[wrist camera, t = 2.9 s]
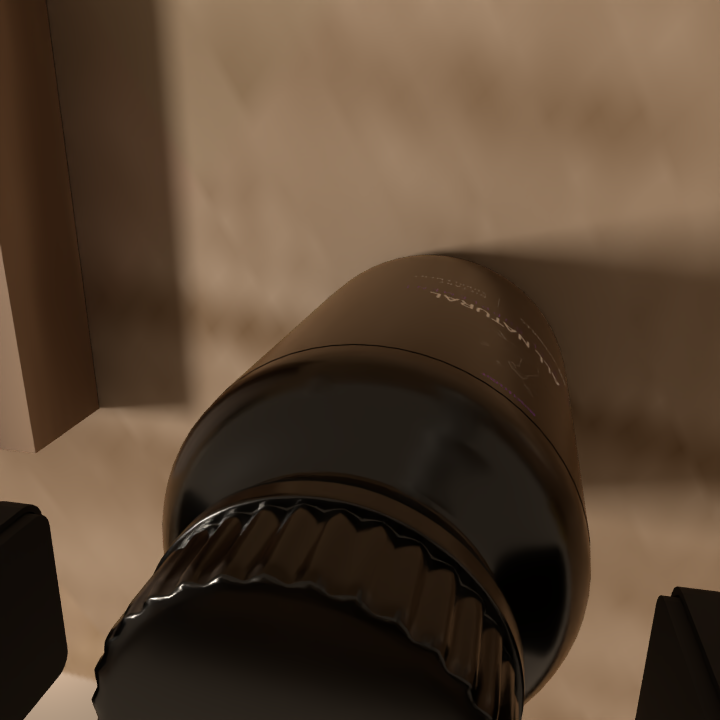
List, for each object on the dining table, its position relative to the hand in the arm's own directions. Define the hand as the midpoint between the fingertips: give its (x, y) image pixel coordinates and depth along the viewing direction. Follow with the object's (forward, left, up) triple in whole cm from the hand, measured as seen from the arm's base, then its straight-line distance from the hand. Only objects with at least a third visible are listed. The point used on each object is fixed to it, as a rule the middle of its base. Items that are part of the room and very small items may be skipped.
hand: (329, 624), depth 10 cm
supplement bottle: (0, -1, -9) cm, 9 cm away
